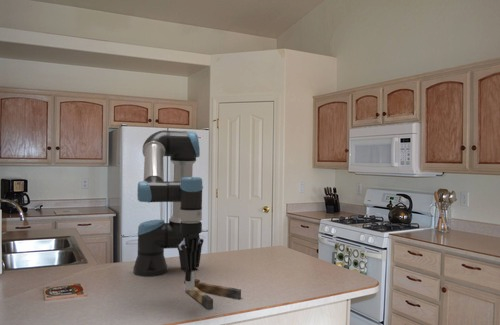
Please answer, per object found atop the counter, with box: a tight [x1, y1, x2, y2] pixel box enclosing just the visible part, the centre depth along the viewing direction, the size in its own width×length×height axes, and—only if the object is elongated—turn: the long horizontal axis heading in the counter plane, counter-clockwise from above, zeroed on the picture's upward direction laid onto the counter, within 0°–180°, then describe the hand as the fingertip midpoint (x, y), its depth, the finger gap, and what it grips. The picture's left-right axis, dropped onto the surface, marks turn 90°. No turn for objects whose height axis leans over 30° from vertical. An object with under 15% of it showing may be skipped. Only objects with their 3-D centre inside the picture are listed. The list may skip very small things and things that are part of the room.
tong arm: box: [183, 280, 214, 310], centre depth 148 cm, size 22×2×4 cm, turn 31°
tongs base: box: [194, 278, 242, 300], centre depth 154 cm, size 23×4×4 cm, turn 63°
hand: (189, 289), depth 138 cm, fingers closed
